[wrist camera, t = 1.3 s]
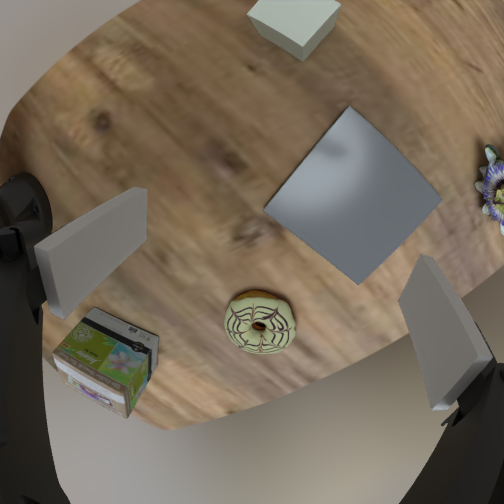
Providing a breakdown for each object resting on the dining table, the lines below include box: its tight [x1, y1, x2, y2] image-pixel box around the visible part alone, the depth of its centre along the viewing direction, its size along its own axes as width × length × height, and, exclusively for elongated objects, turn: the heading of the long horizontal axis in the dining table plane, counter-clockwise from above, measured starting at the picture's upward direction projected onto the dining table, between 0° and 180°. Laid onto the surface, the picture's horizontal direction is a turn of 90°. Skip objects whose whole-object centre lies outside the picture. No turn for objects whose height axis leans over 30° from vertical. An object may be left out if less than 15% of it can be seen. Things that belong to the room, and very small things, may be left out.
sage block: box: [247, 0, 341, 62], centre depth 22 cm, size 6×6×8 cm
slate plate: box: [263, 106, 443, 285], centre depth 33 cm, size 16×16×1 cm
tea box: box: [52, 307, 159, 418], centre depth 46 cm, size 15×10×15 cm
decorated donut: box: [224, 291, 296, 354], centre depth 42 cm, size 10×11×4 cm
